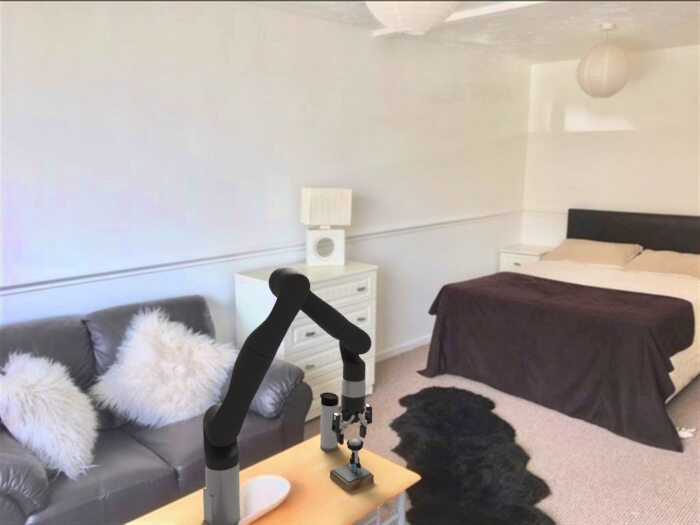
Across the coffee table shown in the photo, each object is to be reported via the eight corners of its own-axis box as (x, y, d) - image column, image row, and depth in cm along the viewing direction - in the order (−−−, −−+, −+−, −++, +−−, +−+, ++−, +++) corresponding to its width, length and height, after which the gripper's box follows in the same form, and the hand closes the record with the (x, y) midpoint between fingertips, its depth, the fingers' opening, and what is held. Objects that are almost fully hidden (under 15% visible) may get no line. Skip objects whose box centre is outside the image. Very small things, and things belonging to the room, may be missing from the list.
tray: (348, 492, 173) (348, 483, 173) (329, 477, 181) (330, 468, 181) (373, 481, 179) (373, 473, 179) (354, 468, 187) (354, 460, 187)
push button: (366, 473, 178) (367, 444, 177) (351, 476, 176) (351, 446, 175) (359, 463, 184) (359, 435, 183) (343, 466, 182) (344, 437, 181)
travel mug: (317, 444, 203) (318, 391, 200) (335, 441, 205) (335, 389, 202) (321, 452, 197) (322, 398, 194) (339, 450, 199) (340, 396, 196)
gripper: (341, 400, 168) (340, 451, 171) (378, 391, 177) (376, 439, 179) (327, 392, 174) (326, 441, 177) (364, 383, 183) (362, 430, 185)
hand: (351, 440), depth 178 cm, fingers open, 8 cm apart
